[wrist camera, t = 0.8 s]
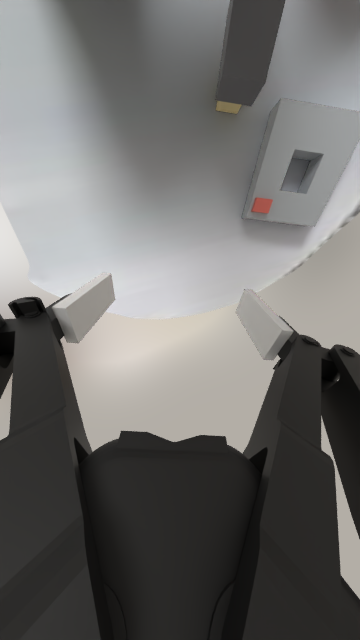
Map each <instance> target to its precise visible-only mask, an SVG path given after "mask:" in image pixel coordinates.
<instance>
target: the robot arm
mask: <svg viewBox="0 0 360 640" xmlns="http://www.w3.org/2000/svg"><path fill="white" fill-rule="evenodd" d="M114 300H115V295H114V289H113V282H112V276H111V274H110V273H102V274H100V275H99V276H97V277H96V278H94V279H93V280H91V281H90V282H88V283H87V284H85V285H84V286H82V287H81V288H79V289H78V290H76V291H75V292H73V293H71V294H68V295H66V296H64V297H62V298H61V299H60V300H58V301H56V302H54V303H53V304H51V305H50V306H49V307H47V308H45V307H44V305H43V303H42V300H41V299H40V298H38V297H25V298H20V299H17V300H14V301H12V302H10V303H9V304H8V306H9V307H10V309H11V311H12V312H13V314H14V315H15V317H16V319H3V318H2V316H1V315H0V398H1V396H2V394H3V392H4V389H5V387H6V385H7V383H8V381H9V379H10V377H11V375H12V373H13V379H12V397H11V414H10V430H9V435H8V436H7V437H6V438H4V439H2V440H0V640H360V599H359V598H358V597H357V595H356V594H355V593H354V592H353V590H352V589H351V588H350V587H349V585H348V584H347V583H346V582H345V580H344V579H343V578H342V576H341V574H340V557H339V540H338V520H337V503H336V486H335V469H334V464H333V460H332V459H331V457H330V456H329V455H327V454H326V453H325V452H323V451H322V450H321V416H322V419H323V422H324V425H325V429H326V432H327V435H328V439H329V442H330V445H331V449H332V452H333V455H334V459H335V462H336V465H337V468H338V472H339V475H340V478H341V482H342V485H343V488H344V492H345V495H346V498H347V502H348V505H349V508H350V512H351V515H352V518H353V521H354V524H355V527H356V530H357V533H358V535H359V539H360V355H359V354H358V353H357V352H355V351H354V350H353V349H351V348H349V347H345V346H342V345H334V346H333V347H332V348H331V349H326V348H323V347H321V345H320V343H318V342H317V341H316V340H314V339H313V338H311V337H308V336H305V335H299V334H298V333H297V332H296V331H295V330H294V329H293V328H292V327H291V326H289V324H288V323H286V321H285V320H284V319H283V318H281V317H280V316H278V315H277V314H276V313H275V312H274V311H273V310H272V309H271V308H270V307H269V306H268V305H267V304H266V303H265V302H264V301H263V300H262V299H260V297H259V296H258V295H257V294H256V293H255V292H254V291H253V290H249V289H244V292H243V295H242V297H241V300H240V302H239V305H238V307H237V310H236V314H237V315H238V317H239V319H240V321H241V322H242V324H243V326H244V327H245V329H246V331H247V332H248V334H249V336H250V338H251V339H252V341H253V343H254V344H255V346H256V348H257V350H258V351H259V353H260V355H261V356H262V358H263V359H264V360H274V359H275V357H276V356H277V354H278V356H279V357H280V358H281V359H280V360H279V361H278V363H277V364H276V365H275V367H274V368H273V369H274V370H275V371H274V374H273V377H272V380H271V383H270V385H269V388H268V391H267V394H266V396H265V399H264V402H263V405H262V408H261V410H260V413H259V416H258V419H257V421H256V424H255V427H254V430H253V433H252V436H251V438H250V441H249V444H248V445H247V447H246V449H245V450H244V452H243V454H242V453H241V452H239V451H237V450H236V449H235V448H233V447H231V446H229V445H227V442H226V437H225V436H207V435H199V436H196V437H192V438H189V439H185V440H182V441H178V442H171V441H169V440H166V439H164V438H161V437H158V436H156V435H153V434H151V433H148V432H134V431H133V432H132V431H121V433H120V437H119V439H116V440H113V441H111V442H108V443H106V444H104V445H103V446H101V447H99V448H98V449H96V450H95V451H94V452H92V450H91V447H90V444H89V442H88V439H87V437H86V433H85V430H84V426H83V422H82V418H81V414H80V411H79V407H78V403H77V400H76V396H75V392H74V388H73V384H72V380H71V377H70V373H69V369H68V365H67V361H66V358H65V354H64V350H63V346H62V343H61V341H60V339H61V338H62V337H63V336H64V337H65V339H66V341H67V342H69V343H79V342H80V341H81V340H82V339H83V338H84V336H85V335H86V334H87V333H88V332H89V330H90V329H91V328H92V327H93V326H94V324H95V323H96V322H97V321H98V320H99V318H100V317H101V316H102V315H103V314H104V312H105V311H106V310H107V309H108V308H109V306H110V305H111V304H112V303H113V302H114ZM338 379H339V380H338ZM337 380H338V381H337Z"/></svg>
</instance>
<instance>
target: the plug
mask: <svg viewBox="0 0 360 640" xmlns="http://www.w3.org/2000/svg"><path fill="white" fill-rule="evenodd" d="M284 4H285V0H230V4H229V9H228V14H227V21H226V28H225V35H224V42H223V50H222V57H221V64H220V71H219V78H218V85H217V92H216V99H215V100H216V101H217V105H216V111H222V112H228V113H234V114H237V113H238V111H239V109H240V107H241V105H246V106H252V104H253V102H254V101H255V99H256V97H257V96H258V94H259V92H260V91H261V89H262V87H263V86H264V84H265V82H266V77H267V73H268V69H269V65H270V61H271V57H272V53H273V49H274V45H275V41H276V37H277V33H278V29H279V24H280V20H281V16H282V12H283V8H284Z"/></svg>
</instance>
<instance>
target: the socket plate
mask: <svg viewBox="0 0 360 640" xmlns="http://www.w3.org/2000/svg"><path fill="white" fill-rule="evenodd" d="M359 140H360V112H359V111H354V110H348V109H342V108H336V107H330V106H325V105H319V104H313V103H307V102H302V101H296V100H290V99H284V98H281V99H280V101H279V102H278V103H277V104H276V106H275V107H274V108H273V109H272V111H271V112H270V116H269V120H268V123H267V127H266V131H265V134H264V138H263V141H262V145H261V149H260V152H259V156H258V160H257V163H256V167H255V171H254V174H253V178H252V182H251V185H250V189H249V192H248V196H247V200H246V203H245V207H244V211H243V214H242V218H244V219H252V220H260V221H268V222H276V223H283V224H291V225H299V226H315V225H316V223H317V221H318V219H319V217H320V216H321V214H322V212H323V210H324V208H325V206H326V204H327V202H328V200H329V198H330V196H331V194H332V192H333V190H334V188H335V186H336V184H337V183H338V181H339V179H340V177H341V175H342V173H343V171H344V169H345V167H346V165H347V163H348V161H349V159H350V157H351V155H352V153H353V151H354V149H355V148H356V146H357V144H358V142H359ZM291 158H297V159H304V160H310V163H309V166H308V168H307V170H306V173H305V175H304V178H303V180H302V182H301V185H300V187H299V190H298V192H297V193H296V192H289V191H282V190H280V189H281V186H282V183H283V181H284V178H285V175H286V172H287V170H288V167H289V164H290V161H291Z"/></svg>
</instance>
